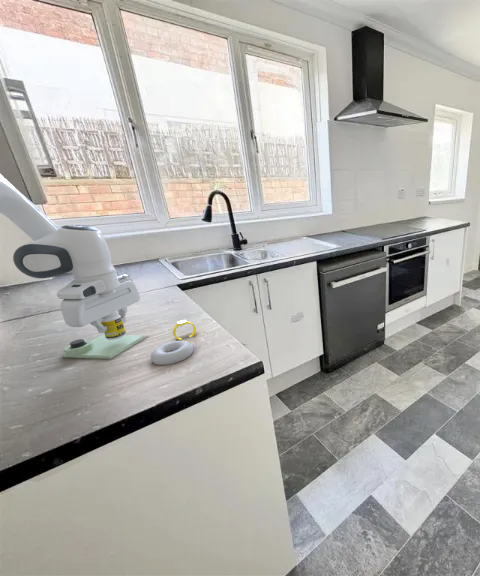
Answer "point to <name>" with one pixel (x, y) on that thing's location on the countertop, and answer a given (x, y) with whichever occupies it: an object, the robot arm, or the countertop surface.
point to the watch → (184, 324)
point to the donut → (171, 352)
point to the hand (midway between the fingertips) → (113, 327)
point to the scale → (102, 347)
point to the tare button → (77, 343)
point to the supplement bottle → (113, 326)
